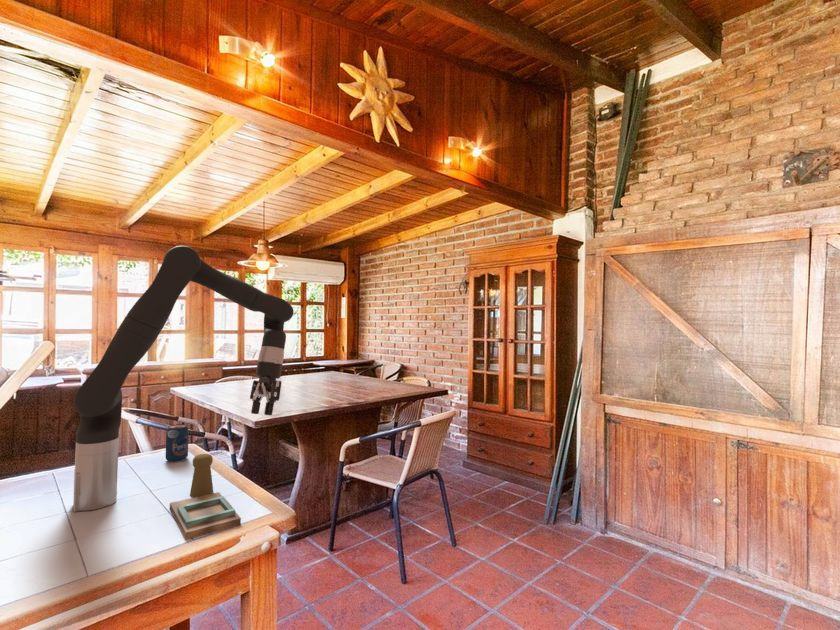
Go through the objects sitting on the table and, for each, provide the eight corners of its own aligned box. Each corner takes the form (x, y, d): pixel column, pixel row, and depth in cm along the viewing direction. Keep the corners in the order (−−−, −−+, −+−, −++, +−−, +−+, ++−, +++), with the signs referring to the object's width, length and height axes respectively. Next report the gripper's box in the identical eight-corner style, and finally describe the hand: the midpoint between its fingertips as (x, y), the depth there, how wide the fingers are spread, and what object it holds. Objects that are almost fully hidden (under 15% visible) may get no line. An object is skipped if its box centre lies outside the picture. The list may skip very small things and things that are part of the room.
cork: (206, 497, 119) (207, 458, 119) (185, 497, 119) (186, 457, 120) (217, 489, 125) (218, 451, 125) (196, 488, 125) (198, 451, 126)
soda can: (175, 464, 146) (176, 429, 147) (160, 461, 149) (161, 427, 149) (192, 458, 153) (193, 424, 153) (178, 455, 155) (179, 422, 156)
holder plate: (185, 539, 97) (186, 527, 97) (169, 508, 112) (170, 498, 112) (240, 524, 104) (240, 513, 104) (218, 497, 120) (218, 487, 120)
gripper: (248, 361, 137) (239, 412, 133) (270, 359, 128) (260, 414, 123) (270, 365, 142) (261, 414, 138) (292, 363, 133) (284, 416, 129)
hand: (261, 414), depth 131 cm, fingers open, 8 cm apart
